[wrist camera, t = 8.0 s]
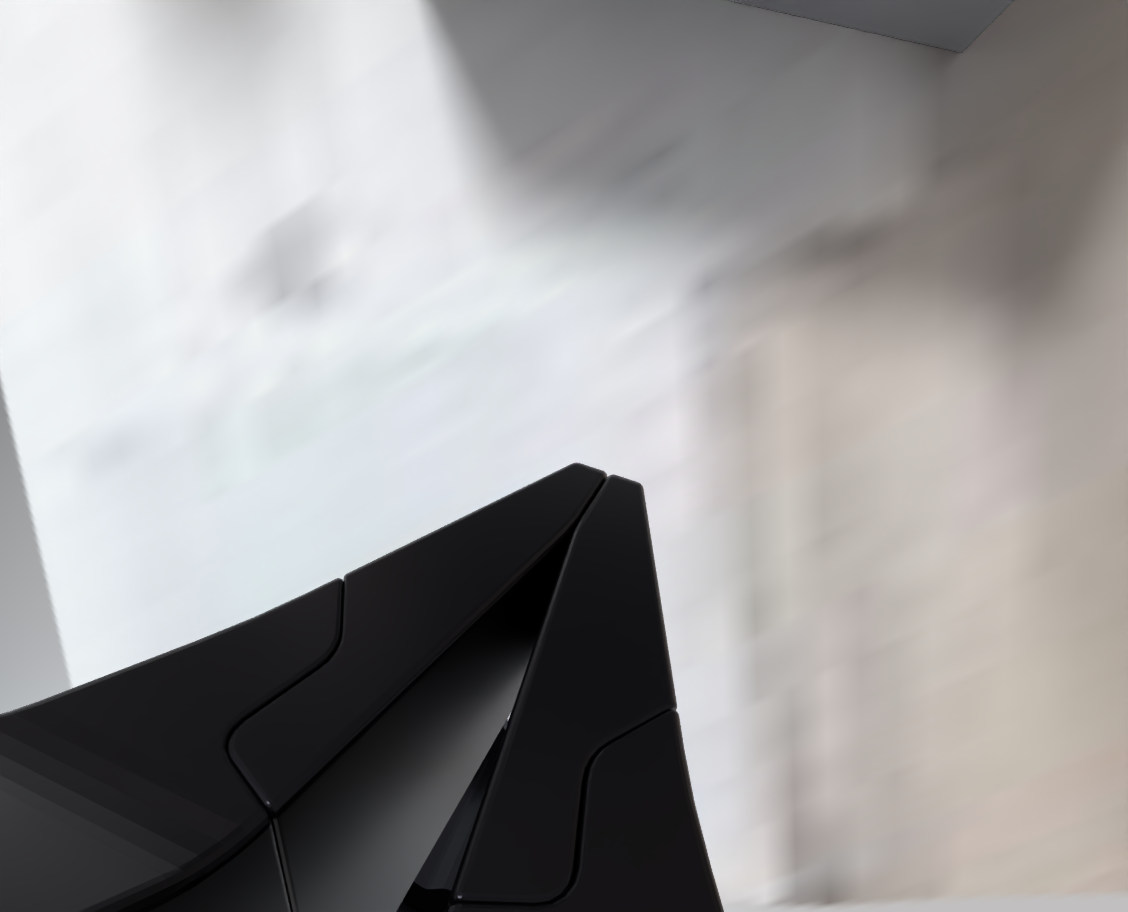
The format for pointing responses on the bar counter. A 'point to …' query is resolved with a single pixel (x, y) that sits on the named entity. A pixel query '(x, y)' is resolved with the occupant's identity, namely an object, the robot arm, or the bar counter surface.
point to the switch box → (900, 17)
